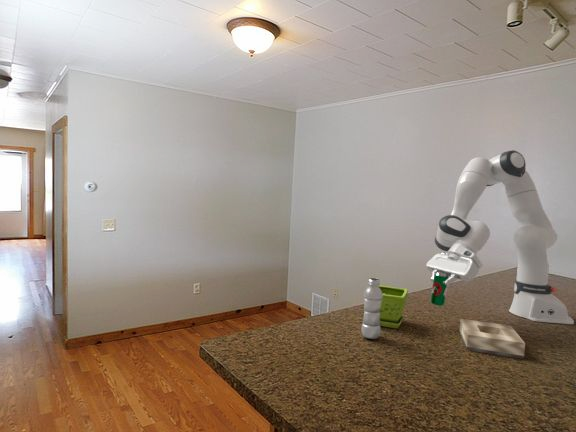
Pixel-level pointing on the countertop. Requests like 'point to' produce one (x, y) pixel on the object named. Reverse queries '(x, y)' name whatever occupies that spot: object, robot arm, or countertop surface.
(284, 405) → the countertop surface
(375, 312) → the plastic bottle
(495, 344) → the can holder
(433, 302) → the soda can
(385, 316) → the flower pot
